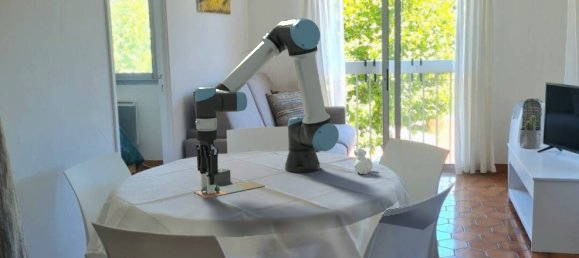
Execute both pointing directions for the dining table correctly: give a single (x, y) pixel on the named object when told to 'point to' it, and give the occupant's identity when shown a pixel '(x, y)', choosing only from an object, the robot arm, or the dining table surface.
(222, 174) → the die
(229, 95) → the robot arm
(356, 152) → the duck figurine
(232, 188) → the game board
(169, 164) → the dining table surface
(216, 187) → the dragon figurine
